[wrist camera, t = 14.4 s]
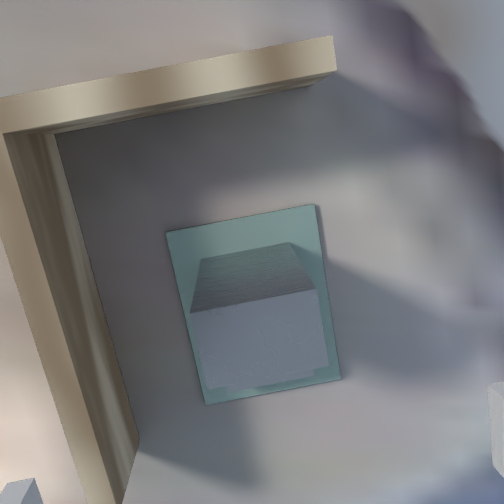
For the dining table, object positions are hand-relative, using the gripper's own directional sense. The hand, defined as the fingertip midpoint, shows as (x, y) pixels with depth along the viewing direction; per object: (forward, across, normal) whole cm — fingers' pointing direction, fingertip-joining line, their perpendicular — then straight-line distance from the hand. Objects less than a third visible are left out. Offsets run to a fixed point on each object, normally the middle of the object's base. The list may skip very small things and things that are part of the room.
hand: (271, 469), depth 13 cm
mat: (+19, +1, -2) cm, 20 cm away
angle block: (+19, +1, -3) cm, 19 cm away
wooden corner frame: (+19, -2, +1) cm, 20 cm away
